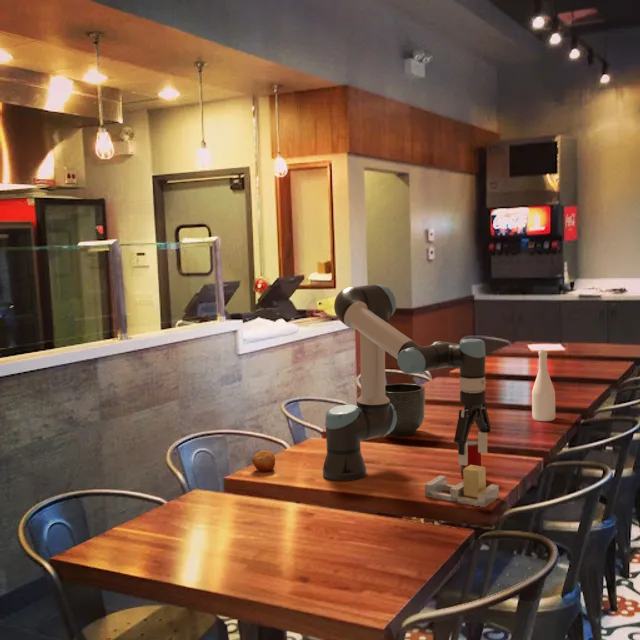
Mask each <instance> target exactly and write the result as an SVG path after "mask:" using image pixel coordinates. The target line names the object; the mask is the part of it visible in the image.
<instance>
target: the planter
mask: <svg viewBox="0 0 640 640" xmlns="http://www.w3.org/2000/svg"><path fill="white" fill-rule="evenodd" d="M385 395H386V396H387V397H388V398H389V400H390V403H391V404H392V405H393V406H394V410H395V411H396V414H397V421H396V425H395V428H394V429H393V431H391V432H390V433H389V435H391V436H394V437H395V436H396V437H408V436H413V435H414V434H415V433H416V432H417V430H418V429H419V428H420V427H421V426H422V425H423V422H424V419H425V413H426V390H425V386H423V385H421V384H418V383H417V384H416V383H404V382H403V383H390V384H389V383H388V384H385ZM415 435H416V434H415Z"/></svg>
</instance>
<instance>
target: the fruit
mask: <svg viewBox="0 0 640 640" xmlns="http://www.w3.org/2000/svg"><path fill="white" fill-rule="evenodd" d="M252 464H253V466H254V467H255V469H256V471H258V472H261V473H262V472H272V470H274V468H275V465H276V456H275V455H274V453H273V452H272V451H270V450H268V449H265V450H261V451H258V452H257V453H255V454H254V456H253V457H252Z"/></svg>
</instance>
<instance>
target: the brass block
mask: <svg viewBox="0 0 640 640" xmlns="http://www.w3.org/2000/svg"><path fill="white" fill-rule="evenodd" d="M486 473H487V472H486V466H482V465H481V466H476V465H469V466H467V467H466V468H464V469H463V479H462V481H463V482H464V497H467V498H472V499H478V495H477V494H478V493H479V492H481V491H482V490H484V489H485V488H487V480H486V479H487V476H486V475H487V474H486Z"/></svg>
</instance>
